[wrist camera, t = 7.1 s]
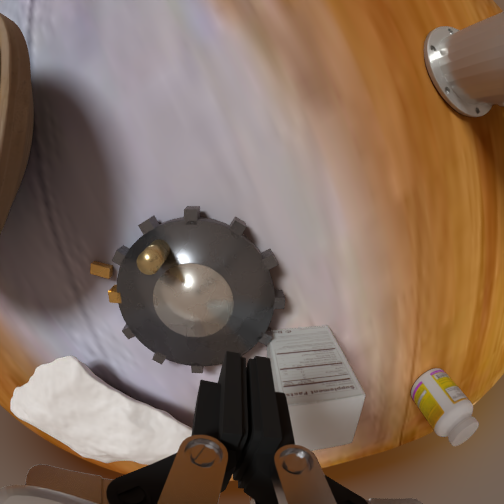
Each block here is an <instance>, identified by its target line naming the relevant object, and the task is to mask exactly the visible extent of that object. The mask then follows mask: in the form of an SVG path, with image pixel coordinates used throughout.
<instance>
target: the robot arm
mask: <svg viewBox="0 0 504 504" xmlns="http://www.w3.org/2000/svg"><path fill="white" fill-rule="evenodd" d="M424 58H425V63H426V67H427V70H428V73H429V75H430V77H431V80H432V82H433V84H434V85H435V87H436V89H437V90H438V92H439V93H440V95H441V96H442V97H443V99H444V100H445V101H446V102H447V103H448V104H449V105H450V106H451V107H452V108H453V109H455V110H456V111H457V112H459V113H461V114H463V115H465V116H469V117H479V116H483V115H485V114H487V113H488V112H489V110H490V109H491V107H492V105H493V104H498V105H499V106H503V107H504V12H502V13H500V14H497V15H495V16H492V17H490V18H487V19H485V20H483V21H480V22H478V23H476V24H473V25H471V26H469V27H467V28H464V29H462V30H460V31H459V30H457V29H455V28H453V27H448V26H442V27H438V28H436V29H434V30H433V31H431V32H430V33H429V34H428V36H427V37H426V40H425V44H424ZM232 474H233V480H237V481H238V488H244V492H245V493H246V494H248V495H249V496H250V504H423V503H421V502H420V501H418V500H417V499H412V498H408V499H377V498H371V499H369V500H365V499H363V498H362V497H361V496H359V495H357V494H355V493H354V492H352V491H350V490H349V489H347V488H345V487H343V486H342V485H340V484H339V483H337V482H335V481H334V480H332V479H331V478H329V477H327V476H326V475H324V473H323V471H322V469H321V466H320V464H319V462H318V460H317V458H316V456H315V455H314V453H313V452H311V451H310V450H309V449H307V448H305V447H303V446H300V445H295V441H294V435H293V430H292V425H291V419H290V414H289V409H288V404H287V398H286V395H285V393H282V392H275V387H274V381H273V374H272V368H271V361H270V358H266V357H259V356H255V357H254V359H249V360H248V363H247V367H246V358H243V357H241V354H240V353H236V352H230V351H226V353H225V357H224V361H223V365H222V369H221V373H220V377H219V381H218V383H214V382H209V381H204V380H201V381H200V386H199V391H198V396H197V402H196V408H195V414H194V421H193V428H192V435H191V436H190V437H188V438H186V439H185V440H183V442H182V443H181V445H180V447H179V449H178V452H177V453H175V454H173V455H171V456H168V457H166V458H164V459H162V460H160V461H157V462H155V463H153V464H150V465H148V466H146V467H143V468H141V469H138V470H136V471H133V472H131V473H128V474H126V475H123V476H121V477H118V478H116V479H115V480H111V479H104V478H102V477H101V476H98V475H91V474H86V473H81V472H75V471H71V470H66V469H62V468H57V467H53V466H49V465H42V464H39V465H35V466H33V467H32V468H31V469H29V471H28V474H27V477H26V483H25V485H10V486H5V487H3V488H1V489H0V504H218V500H219V495H220V493H221V492H223V491H224V490H225V489H226V487H227V485H228V483H229V480H230V478H231V476H232Z"/></svg>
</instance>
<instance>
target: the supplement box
mask: <svg viewBox="0 0 504 504" xmlns="http://www.w3.org/2000/svg"><path fill="white" fill-rule="evenodd" d="M271 331H272V336H273V338H272V339H271V340H270V342H269V343H268V344H267V358H270V361H271V368H272V374H273V381H274V387H275V392H282V393H285V395H286V398H287V404H288V409H289V414H290V419H291V425H292V430H293V435H294V441H295V445H300V446H303V447H305V448H307V449H309V450H310V451H313V450H318V449H325V448H330V447H335V446H341V445H346V444H349V443H352V441H353V438H354V434H355V431H356V428H357V424H358V421H359V417H360V414H361V410H362V407H363V403H364V399H365V393H364V391H363V389H362V387H361V385H360V383H359V382H358V380H357V378H356V376H355V374H354V372H353V370H352V368H351V367H350V365H349V363H348V361H347V359H346V357H345V355H344V353H343V352H342V350H341V348H340V346H339V344H338V343H337V341H336V339H335V337H334V335H333V334H332V332H331V330H330V328H329V327H328V326H317V327H306V328H294V329H281V330H271Z"/></svg>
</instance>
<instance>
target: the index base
mask: <svg viewBox="0 0 504 504" xmlns="http://www.w3.org/2000/svg"><path fill="white" fill-rule="evenodd" d="M90 274H93V275H97V276H100V277H104V278H108V279H109V278H110V277H112V275H113V265H109V264H105V263H101V262H97V261H94V262H92V263H91V268H90Z"/></svg>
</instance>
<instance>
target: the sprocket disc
mask: <svg viewBox="0 0 504 504" xmlns="http://www.w3.org/2000/svg"><path fill="white" fill-rule="evenodd" d="M138 226H139V227H140V229H141V231H142V233H143V234H144V235H143V236H142V237H140V238H139V239H138V240H137V241H136V242H135V243H134V244H133V245H132V247H131V248H130V249H129V248H127V247H126V246H124V245H123V246H122V247H120V248H119V249H118V250H117V251H116V253H115V255H114V257H113V260H112V261H113V262H115V263H117V264H118V265H120V269H119V273H118V278H117V285H114V286H113V287H112V288H111V289H110V290H109V291H108V295H109V301H110V302H112V303H119V308H120V310H121V313H122V316H123V318H124V320H125V322H126V325H125V327H124V328H123V330H122V332H123V333H124V334H125V336H126V337H127V338H128V339H130V338H132V337H134V336H136V338H137V339H138V340H139V341H140V342H141V343H142V344H143V345H144V346H146V347H147V348H148V349H150V350H151V351H152V352H154V353H155V354H154V356H153V359H152V360H154V361H156V362H158V363H160V364H162V363H163V362H164V360H165V359H168V360H170V361H173V362H176V363H180V364H184V365H190V366H191V368H192V373H203V366H211V365H218V364H222V363H223V361H224V357H225V353H226V351H230V352H236V353H240V354H241V357H242V355H243V354H244V353H246V352H247V351H249V350H250V349H251V348H252V347H253V346H255V345H256V344H257V342H260V343H262V344H264V345H266V346H267V344H268V343H269V342H270V340H271V339H272V338H273V336H272V331H271V328H270V327H268V326H269V324H270V322H271V318H272V315H273V310H274V309H284V305H285V296H284V293H283V291H282V290H274V286H273V282H272V278H271V275H270V272H269V269H271V268H273V267H275V266H277V265H278V263H277V261H276V258H275V256H274V255H273V253H272V251H271V249H268V250H266V251H264V252H262V253H260V251H259V249H258V248H257V247H256V246H255V245H254V244H253V242H252V241H251V240H250V239H248V238H247V237H246V236H245V235H244V234H243V232H244V230H245V229H246V223H245V222H244V221H242V220H240V219H239V218H237V217H235V218H234V219H233V221H232V222H231V224H230V226H229V225H228V224H226V223H223V222H220V221H217V220H214V219H209V218H205V217H200V206H187V207H186V208H185V209H184V217H182V218H177V219H172V220H169V221H166V222H163V223H161V224H159V223H158V221H157V219H156V218H155V216H152V217H151V218H149V219H148V220H146V221H144V222H143V223H141V224H140V225H138Z"/></svg>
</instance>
